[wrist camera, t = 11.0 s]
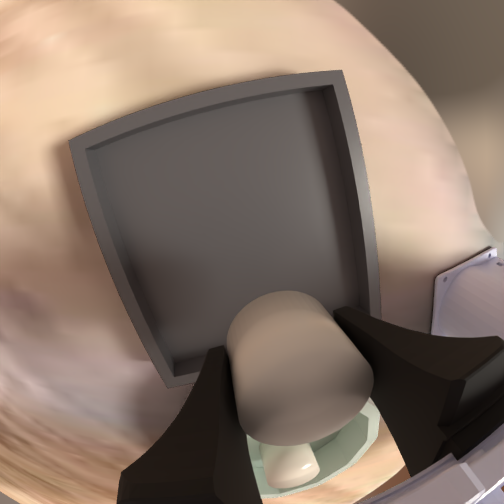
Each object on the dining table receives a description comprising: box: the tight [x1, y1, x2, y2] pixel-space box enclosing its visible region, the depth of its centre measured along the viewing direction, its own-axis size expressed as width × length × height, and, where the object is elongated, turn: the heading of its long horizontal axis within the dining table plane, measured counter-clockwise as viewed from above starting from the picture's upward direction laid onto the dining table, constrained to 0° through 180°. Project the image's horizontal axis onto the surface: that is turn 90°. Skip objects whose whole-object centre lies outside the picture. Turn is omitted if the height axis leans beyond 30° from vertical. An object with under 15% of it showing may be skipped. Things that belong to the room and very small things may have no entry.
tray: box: [69, 70, 381, 388], centre depth 16 cm, size 15×16×2 cm
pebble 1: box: [227, 291, 374, 446], centre depth 10 cm, size 4×4×4 cm
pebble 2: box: [259, 443, 320, 488], centre depth 21 cm, size 4×4×4 cm
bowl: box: [247, 397, 380, 499], centre depth 20 cm, size 16×16×4 cm
